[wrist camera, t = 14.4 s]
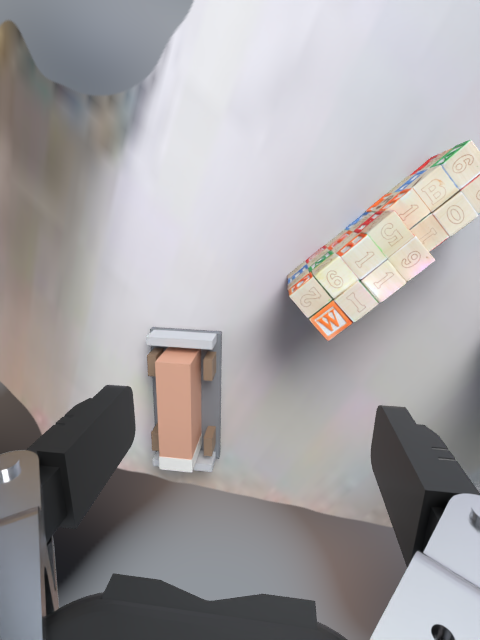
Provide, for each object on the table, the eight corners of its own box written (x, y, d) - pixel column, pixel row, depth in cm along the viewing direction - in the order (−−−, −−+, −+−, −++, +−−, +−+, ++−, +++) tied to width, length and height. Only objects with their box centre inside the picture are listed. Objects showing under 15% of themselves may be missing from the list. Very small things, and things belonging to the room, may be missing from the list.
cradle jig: (221, 331, 49) (216, 341, 45) (220, 454, 55) (215, 472, 51) (152, 327, 50) (142, 336, 46) (158, 448, 56) (149, 465, 52)
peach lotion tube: (201, 347, 49) (190, 364, 43) (201, 444, 53) (192, 472, 47) (169, 345, 49) (154, 362, 43) (172, 441, 54) (159, 469, 48)
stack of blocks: (430, 155, 40) (492, 129, 28) (461, 197, 41) (534, 190, 29) (286, 276, 46) (287, 296, 34) (316, 311, 47) (327, 343, 35)
